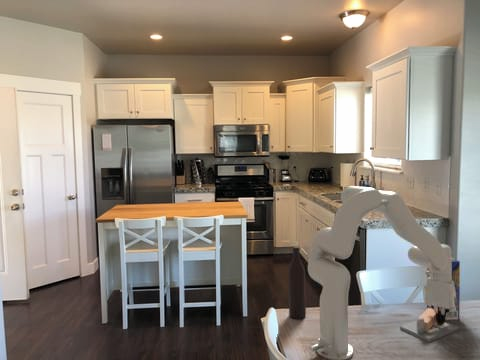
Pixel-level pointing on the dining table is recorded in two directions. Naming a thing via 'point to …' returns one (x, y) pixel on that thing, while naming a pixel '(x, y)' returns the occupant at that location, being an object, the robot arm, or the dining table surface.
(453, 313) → the juice carton
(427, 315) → the swing bar
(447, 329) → the label board
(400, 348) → the dining table surface
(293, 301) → the wine bottle
